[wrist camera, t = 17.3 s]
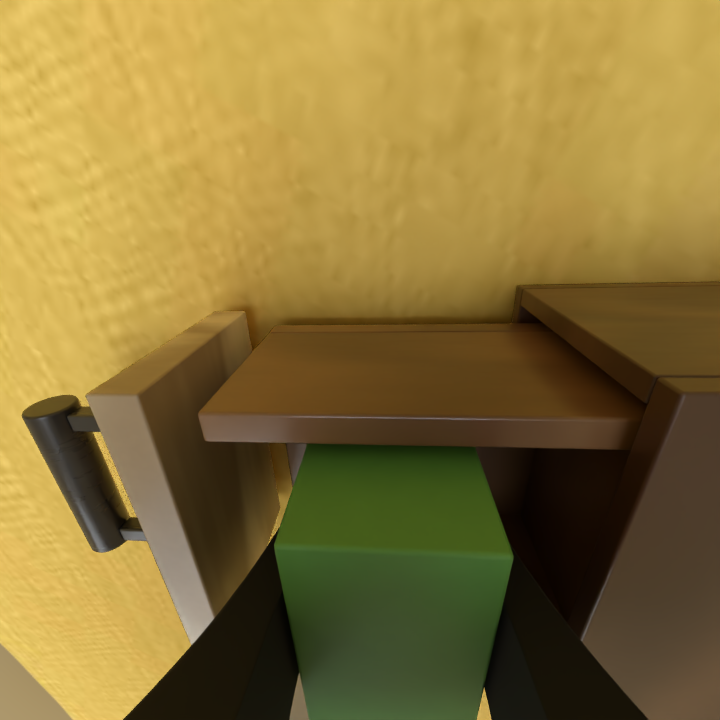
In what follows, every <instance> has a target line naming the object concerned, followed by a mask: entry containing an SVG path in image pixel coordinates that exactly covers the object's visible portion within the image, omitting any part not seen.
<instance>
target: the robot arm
mask: <svg viewBox="0 0 720 720" xmlns="http://www.w3.org/2000/svg"><path fill="white" fill-rule="evenodd" d="M279 528H280V527H279ZM278 531H279V529H278V530H277V532H276V534H275V535H274V537H273V538H272V540H271V541H270V543H269V544H268V546H267V547H266V549H265V550H264V552H263V553H262V555H261V556H260V557H259V559H258V560H257V562H256V563H255V565H254V566H253V568H252V569H251V570H250V572H249V573H248V575H247V576H246V577H245V579H244V580H243V581H242V583H241V584H240V585H239V587H238V588H237V589H236V591H235V592H234V593H233V595H232V596H231V597H230V599H229V600H228V601H227V603H226V604H225V605H224V607H223V608H222V609H221V610H220V612H219V613H218V614H217V615H216V617H215V618H214V619H213V620H212V622H211V623H210V624H209V625H208V627H207V628H206V629H205V630H204V631H203V633H202V634H201V635H200V636H199V637H198V638H197V640H196V641H195V642H194V643H193V644H192V645H191V647H190V648H189V649H188V650H187V651H186V652H185V654H184V655H183V656H182V657H181V658H180V659H179V660H178V661H177V663H176V664H175V665H174V666H173V667H172V668H171V669H170V670H169V671H168V672H167V674H166V675H165V676H164V677H163V678H162V679H161V680H160V681H159V682H158V683H157V685H156V686H155V687H154V688H153V689H152V690H151V691H150V692H149V693H148V694H147V695H146V696H145V697H144V698H143V699H142V701H141V702H140V703H139V704H138V705H137V706H136V707H135V708H134V709H133V710H132V711H131V712H130V713H129V714H128V715H127V716H126V717H125V718H124V719H123V720H309V717H308V712H307V707H306V702H305V697H304V692H303V688H302V683H301V678H300V673H299V668H298V663H297V658H296V653H295V648H294V643H293V638H292V633H291V629H290V624H289V619H288V614H287V609H286V604H285V599H284V594H283V589H282V584H281V579H280V575H279V570H278V565H277V560H276V555H275V550H274V543H275V540H276V537H277V534H278ZM508 542H509V541H508ZM509 544H510V543H509ZM510 547H511V550H512V553H513V563H512V567H511V571H510V576H509V580H508V584H507V589H506V593H505V598H504V602H503V606H502V611H501V615H500V619H499V624H498V628H497V632H496V637H495V641H494V645H493V650H492V654H491V659H490V663H489V667H488V672H487V676H486V680H485V685H484V688H485V692H486V696H487V700H488V704H489V709H490V714H491V719H492V720H649V719H648V718H647V717H646V716H645V715H644V714H643V712H642V711H641V710H640V709H639V708H638V707H637V706H636V705H635V704H634V702H633V701H632V700H631V699H630V698H629V697H628V696H627V695H626V693H625V692H624V691H623V690H622V689H621V688H620V687H619V685H618V684H617V683H616V682H615V681H614V680H613V678H612V677H611V676H610V675H609V674H608V673H607V671H606V670H605V669H604V668H603V667H602V666H601V664H600V663H599V662H598V661H597V660H596V658H595V657H594V656H593V655H592V653H591V652H590V651H589V650H588V649H587V647H586V646H585V645H584V644H583V642H582V641H581V640H580V639H579V637H578V636H577V635H576V634H575V632H574V631H573V630H572V629H571V627H570V626H569V625H568V623H567V622H566V621H565V620H564V618H563V617H562V616H561V614H560V613H559V612H558V610H557V609H556V608H555V606H554V605H553V604H552V602H551V601H550V600H549V598H548V597H547V596H546V594H545V593H544V592H543V590H542V589H541V587H540V586H539V585H538V583H537V582H536V580H535V579H534V578H533V576H532V575H531V573H530V572H529V571H528V569H527V568H526V566H525V565H524V563H523V562H522V561H521V559H520V558H519V556H518V555H517V553H516V552H515V550H514V549H513V547H512V546H511V544H510Z"/></svg>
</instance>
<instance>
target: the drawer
mask: <svg viewBox="0 0 720 720" xmlns="http://www.w3.org/2000/svg"><path fill="white" fill-rule="evenodd" d="M86 398H87V401H88V403H89V405H90V407H82V406H81V404H80V402H79V399H78V398H77V397H76V396H73V395H61V396H56V397H51V398H48V399H45V400H42V401H39V402H37V403H35V404H33V405H31V406H29V407H28V408H27V409H25V410H24V411H23V413H22V418H23V420H24V422H25V424H26V426H27V427H28V429H29V431H30V433H31V435H32V437H33V439H34V441H35V443H36V444H37V446H38V448H39V450H40V452H41V454H42V456H43V458H44V460H45V461H46V463H47V465H48V467H49V469H50V471H51V473H52V475H53V477H54V478H55V480H56V482H57V484H58V486H59V488H60V490H61V492H62V494H63V495H64V497H65V499H66V501H67V503H68V505H69V507H70V509H71V511H72V512H73V514H74V516H75V518H76V520H77V522H78V524H79V526H80V528H81V529H82V531H83V533H84V535H85V537H86V539H87V541H88V543H89V545H90V546H91V548H92V550H94V551H96V552H100V553H102V552H108V551H111V550H113V549H115V548H117V547H119V546H121V545H122V544H123V543H124V542H126V541H127V540H133V541H147V542H148V544H149V547H150V549H151V551H152V554H153V556H154V558H155V561H156V563H157V565H158V568H159V570H160V572H161V575H162V577H163V580H164V582H165V584H166V587H167V589H168V591H169V594H170V596H171V598H172V601H173V603H174V605H175V608H176V610H177V613H178V615H179V617H180V620H181V622H182V624H183V627H184V629H185V631H186V634H187V636H188V638H189V641H190V643H191V645H192V644H193V643H194V642H195V641H196V640H197V638H198V637H199V636H200V635H201V634H202V633H203V631H204V630H205V629H206V628H207V627H208V625H209V624H210V623H211V622H212V620H213V619H214V618H215V617H216V615H217V614H218V613H219V612H220V610H221V609H222V608H223V607H224V605H225V604H226V603H227V601H228V600H229V599H230V597H231V596H232V595H233V593H234V592H235V591H236V589H237V588H238V587H239V585H240V584H241V583H242V581H243V580H244V579H245V577H246V576H247V575H248V573H249V572H250V570H251V569H252V568H253V566H254V565H255V563H256V562H257V560H258V559H259V557H260V556H261V555H262V553H263V552H264V550H265V549H266V547H267V545H268V542H269V539H270V536H271V533H272V530H273V527H274V525H275V522H276V519H277V516H278V513H279V510H280V503H279V497H278V492H277V486H276V481H275V475H274V470H273V464H272V458H271V453H270V447H269V443H286V447H287V454H288V460H289V467H290V474H291V480H292V487H293V486H294V483H295V480H296V477H297V474H298V471H299V468H300V465H301V462H302V459H303V456H304V453H305V449H306V446H307V444H352V445H402V446H452V447H475V448H476V451H477V454H478V457H479V459H480V462H481V465H482V468H483V471H484V474H485V476H486V479H487V482H488V485H489V488H490V491H491V493H492V496H493V499H494V502H495V505H496V508H497V510H498V513H499V516H500V519H501V522H502V525H503V527H504V530H505V533H506V536H507V539H508V541H509V543H510V544H511V546H512V547H513V549H514V550H515V552H516V553H517V555H518V556H519V558H520V559H521V561H522V562H523V563H524V565H525V566H526V568H527V569H528V571H529V572H530V573H531V575H532V576H533V578H534V579H535V580H536V582H537V583H538V585H539V586H540V587H541V589H542V590H543V592H544V593H545V594H546V596H547V597H548V598H549V600H550V601H551V602H552V604H553V605H554V606H555V608H556V609H557V610H558V612H559V613H560V614H561V616H562V617H563V618H564V620H565V621H566V622H567V621H568V619H569V616H570V613H571V610H572V608H573V605H574V602H575V600H576V597H577V594H578V592H579V589H580V586H581V583H582V581H583V578H584V575H585V573H586V570H587V567H588V564H589V562H590V559H591V556H592V554H593V551H594V548H595V546H596V543H597V540H598V537H599V535H600V532H601V529H602V527H603V524H604V521H605V518H606V516H607V513H608V510H609V508H610V505H611V502H612V500H613V497H614V494H615V491H616V489H617V486H618V483H619V481H620V478H621V475H622V472H623V470H624V467H625V464H626V462H627V459H628V456H629V454H630V451H631V448H632V445H633V443H634V440H635V437H636V435H637V432H638V429H639V427H640V424H641V421H642V418H643V416H644V413H645V410H646V408H647V405H648V404H646V403H644V402H642V401H641V400H640V399H639V398H637V397H636V396H635V395H634V394H632V393H631V392H630V391H629V390H627V389H626V388H625V387H623V386H622V385H621V384H620V383H618V382H617V381H616V380H615V379H613V378H612V377H611V376H610V375H608V374H607V373H606V372H604V371H603V370H602V369H601V368H599V367H598V366H597V365H596V364H594V363H593V362H592V361H591V360H589V359H588V358H587V357H585V356H584V355H583V354H582V353H580V352H579V351H578V350H577V349H575V348H574V347H573V346H572V345H570V344H569V343H568V342H566V341H565V340H564V339H563V338H561V337H560V336H559V335H558V334H556V333H555V332H554V331H553V330H551V329H550V328H549V327H547V326H546V325H545V324H544V323H508V324H386V325H276V326H275V327H274V328H273V329H272V330H271V331H270V332H269V334H268V335H267V336H266V337H265V338H264V339H263V340H262V342H261V343H260V344H259V345H258V346H257V347H256V348H255V349H254V351H253V352H252V347H251V341H250V336H249V330H248V324H247V319H246V313H245V311H215V312H213V313H212V314H210V315H209V316H207V317H205V318H204V319H202V320H201V321H199V322H198V323H196V324H195V325H193V326H191V327H190V328H188V329H187V330H185V331H184V332H182V333H181V334H179V335H177V336H176V337H174V338H173V339H171V340H170V341H168V342H167V343H165V344H163V345H162V346H160V347H159V348H157V349H156V350H154V351H153V352H151V353H149V354H148V355H146V356H145V357H143V358H142V359H140V360H139V361H137V362H135V363H134V364H132V365H131V366H129V367H128V368H126V369H125V370H123V371H121V372H120V373H118V374H117V375H115V376H114V377H112V378H111V379H109V380H107V381H106V382H104V383H103V384H101V385H100V386H98V387H96V388H95V389H93V390H92V391H90V392H89V393H87V394H86ZM93 432H101V434H102V436H103V438H104V441H105V443H106V445H107V448H108V450H109V452H110V455H111V457H112V460H113V462H114V464H115V467H116V469H117V471H118V474H119V476H120V478H121V481H122V483H123V485H124V488H125V490H126V492H127V495H128V497H129V500H130V502H131V504H132V507H133V509H134V511H135V514H136V516H137V518H136V517H130V516H129V514H128V512H127V509H126V507H125V505H124V502H123V500H122V498H121V496H120V493H119V491H118V489H117V486H116V484H115V482H114V480H113V477H112V475H111V473H110V470H109V468H108V466H107V464H106V461H105V459H104V457H103V454H102V452H101V450H100V447H99V445H98V443H97V441H96V438H95V436H94V434H93Z"/></svg>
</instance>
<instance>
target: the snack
mask: <svg viewBox="0 0 720 720" xmlns="http://www.w3.org/2000/svg"><path fill="white" fill-rule="evenodd" d="M274 550H275V555H276V560H277V565H278V570H279V575H280V579H281V584H282V589H283V594H284V599H285V604H286V609H287V614H288V619H289V624H290V629H291V633H292V638H293V643H294V648H295V653H296V658H297V663H298V668H299V673H300V678H301V683H302V688H303V692H304V697H305V702H306V707H307V712H308V717H309V720H477V715H478V711H479V707H480V702H481V698H482V693H483V689H484V685H485V680H486V676H487V672H488V667H489V663H490V659H491V654H492V650H493V645H494V641H495V637H496V632H497V628H498V624H499V619H500V615H501V611H502V606H503V602H504V598H505V593H506V589H507V584H508V580H509V576H510V571H511V567H512V563H513V553H512V550H511V547H510V544H509V542H508V539H507V536H506V533H505V530H504V527H503V525H502V522H501V519H500V516H499V513H498V510H497V508H496V505H495V502H494V499H493V496H492V493H491V491H490V488H489V485H488V482H487V479H486V476H485V474H484V471H483V468H482V465H481V462H480V459H479V457H478V454H477V451H476V448H475V447H452V446H402V445H352V444H307V446H306V449H305V453H304V456H303V459H302V462H301V465H300V468H299V471H298V474H297V477H296V480H295V483H294V486H293V489H292V492H291V495H290V498H289V501H288V504H287V507H286V510H285V513H284V516H283V519H282V522H281V525H280V528H279V531H278V534H277V537H276V540H275V543H274Z"/></svg>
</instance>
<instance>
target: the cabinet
mask: <svg viewBox="0 0 720 720" xmlns="http://www.w3.org/2000/svg"><path fill="white" fill-rule="evenodd" d="M512 323H544V324H545V325H546V326H547V327H549V328H550V329H551V330H553V331H554V332H555V333H556V334H558V335H559V336H560V337H561V338H563V339H564V340H565V341H566V342H568V343H569V344H570V345H572V346H573V347H574V348H575V349H577V350H578V351H579V352H580V353H582V354H583V355H584V356H585V357H587V358H588V359H589V360H591V361H592V362H593V363H594V364H596V365H597V366H598V367H599V368H601V369H602V370H603V371H604V372H606V373H607V374H608V375H610V376H611V377H612V378H613V379H615V380H616V381H617V382H618V383H620V384H621V385H622V386H623V387H625V388H626V389H627V390H629V391H630V392H631V393H632V394H634V395H635V396H636V397H637V398H639V399H640V400H641V401H642V402H644V403H646V404H648V405H647V408H646V410H645V413H644V416H643V418H642V421H641V424H640V427H639V429H638V432H637V435H636V437H635V440H634V443H633V445H632V448H631V451H630V454H629V456H628V459H627V462H626V464H625V467H624V470H623V472H622V475H621V478H620V481H619V483H618V486H617V489H616V491H615V494H614V497H613V500H612V502H611V505H610V508H609V510H608V513H607V516H606V518H605V521H604V524H603V527H602V529H601V532H600V535H599V537H598V540H597V543H596V546H595V548H594V551H593V554H592V556H591V559H590V562H589V564H588V567H587V570H586V573H585V575H584V578H583V581H582V583H581V586H580V589H579V592H578V594H577V597H576V600H575V602H574V605H573V608H572V610H571V613H570V616H569V619H568V621H567V623H568V625H569V626H570V627H571V629H572V630H573V631H574V632H575V634H576V635H577V636H578V637H579V639H580V640H581V641H582V642H583V644H584V645H585V646H586V647H587V649H588V650H589V651H590V652H591V653H592V655H593V656H594V657H595V658H596V660H597V661H598V662H599V663H600V664H601V666H602V667H603V668H604V669H605V670H606V671H607V673H608V674H609V675H610V676H611V677H612V678H613V680H614V681H615V682H616V683H617V684H618V685H619V687H620V688H621V689H622V690H623V691H624V692H625V693H626V695H627V696H628V697H629V698H630V699H631V700H632V701H633V702H634V704H635V705H636V706H637V707H638V708H639V709H640V710H641V711H642V712H643V714H644V715H645V716H646V717H647V718H648V719H649V720H720V282H680V283H621V284H561V285H519V286H518V287H517V292H516V298H515V305H514V311H513V317H512Z"/></svg>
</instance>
